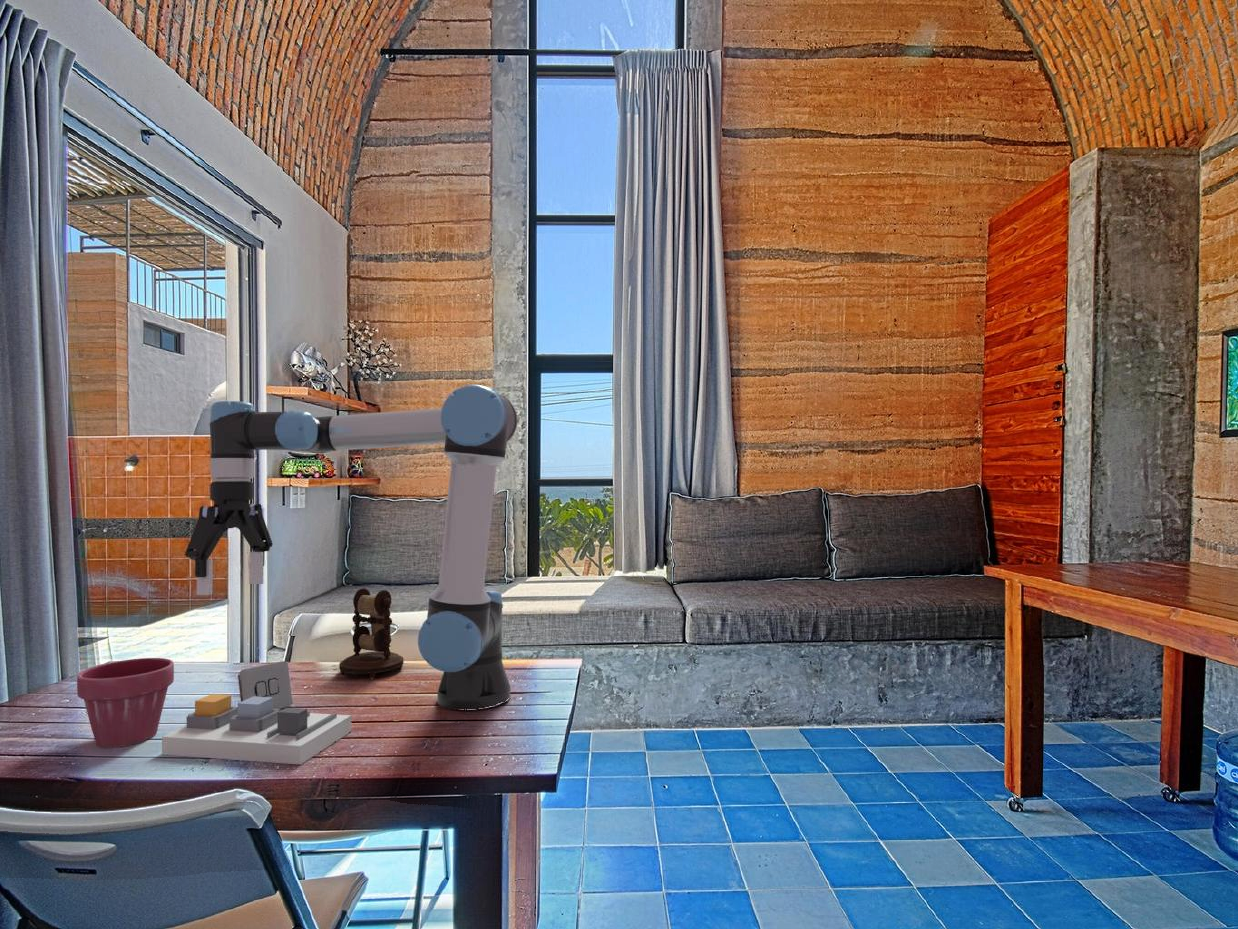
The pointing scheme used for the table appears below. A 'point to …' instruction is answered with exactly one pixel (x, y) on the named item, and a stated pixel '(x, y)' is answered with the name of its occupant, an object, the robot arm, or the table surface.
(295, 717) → the slide switch
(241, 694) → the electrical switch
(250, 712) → the grey button
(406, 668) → the table surface
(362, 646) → the brown spool stand
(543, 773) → the table surface
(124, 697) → the plant pot
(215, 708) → the orange button
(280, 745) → the switch panel
